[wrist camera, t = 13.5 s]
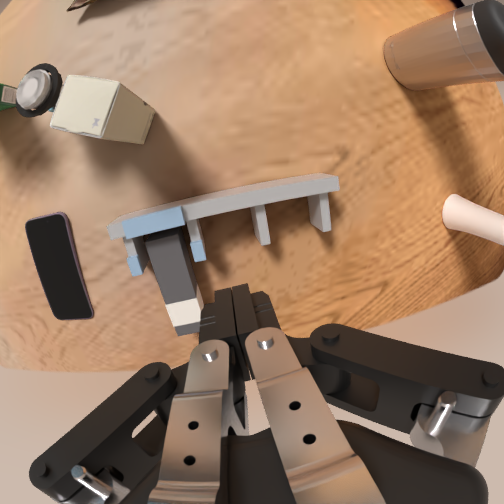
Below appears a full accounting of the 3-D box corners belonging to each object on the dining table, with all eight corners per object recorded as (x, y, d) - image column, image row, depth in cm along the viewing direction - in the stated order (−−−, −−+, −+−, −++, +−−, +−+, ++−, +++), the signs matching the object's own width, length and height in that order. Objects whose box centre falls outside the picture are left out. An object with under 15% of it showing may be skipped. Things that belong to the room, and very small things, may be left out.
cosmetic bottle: (456, 232, 39) (553, 281, 18) (437, 223, 37) (546, 275, 17) (465, 200, 37) (566, 238, 17) (447, 188, 36) (560, 225, 15)
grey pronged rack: (319, 171, 32) (341, 175, 26) (325, 220, 34) (346, 232, 29) (120, 214, 30) (103, 226, 24) (134, 262, 32) (122, 283, 26)
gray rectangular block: (151, 232, 31) (144, 243, 27) (181, 224, 31) (177, 234, 28) (179, 318, 35) (177, 336, 32) (206, 312, 36) (207, 330, 32)
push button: (103, 74, 24) (67, 48, 14) (102, 115, 26) (63, 102, 16) (56, 88, 23) (12, 72, 14) (55, 127, 25) (8, 123, 15)
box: (157, 109, 27) (126, 80, 15) (143, 146, 28) (104, 140, 16) (115, 100, 25) (66, 72, 13) (103, 136, 26) (46, 128, 14)
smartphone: (55, 320, 32) (23, 221, 27) (58, 316, 33) (27, 219, 28) (95, 318, 33) (64, 211, 28) (97, 314, 34) (68, 209, 29)
